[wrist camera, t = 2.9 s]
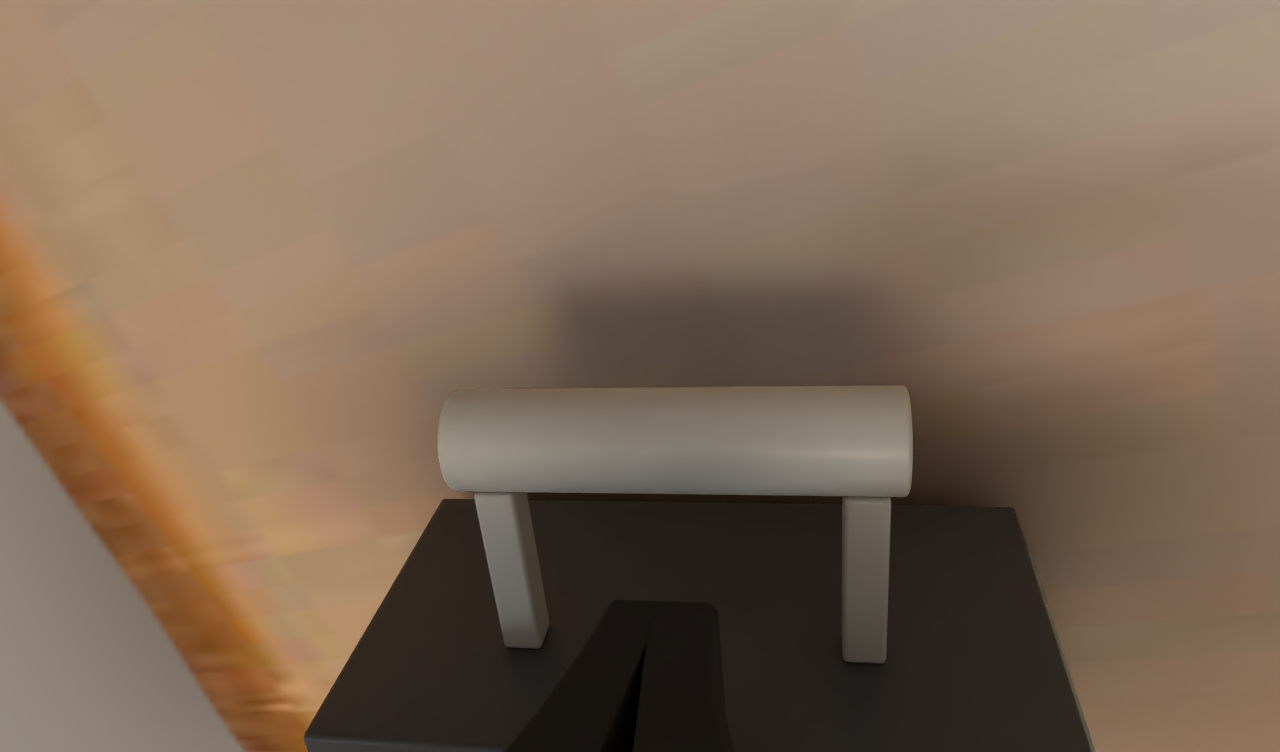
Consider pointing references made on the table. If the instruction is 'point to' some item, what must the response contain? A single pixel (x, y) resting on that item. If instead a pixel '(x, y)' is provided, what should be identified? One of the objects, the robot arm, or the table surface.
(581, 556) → the grey drawer
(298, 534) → the table surface
